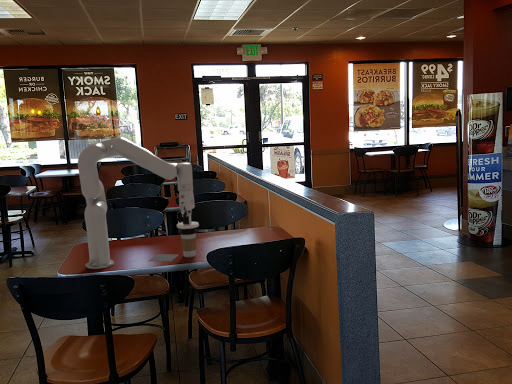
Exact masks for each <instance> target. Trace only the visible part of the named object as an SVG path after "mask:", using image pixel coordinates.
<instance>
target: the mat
mask: <svg viewBox="0 0 512 384" xmlns="http://www.w3.org/2000/svg"><path fill="white" fill-rule="evenodd" d="M178 256H179V254H176V253H175V254H174V253H171V254H169V253H168V254H166V253H157V254H155V255H154V256H153V257H151V258H150V259H148V262H173V261H174V260H175V259H176V258H177V257H178Z"/></svg>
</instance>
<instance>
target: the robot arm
mask: <svg viewBox="0 0 512 384" xmlns="http://www.w3.org/2000/svg"><path fill="white" fill-rule="evenodd" d="M115 156H120V157H122V158H124V159H126V160H127V161H130V162H132V163H133V164H136V165H137V166H139V167H141V168H143V169H146V170H148V171H150V172H152V173H153V174H155V175H157V176H159V177H161V178H163V179H165V180H173V179H175V178H177V179H176V180H177V191H178V192H179V194H178V203H179V205H178V206H179V210H180V213H181V217H182V222H183V224H189V216H188V213H191V222H193V215H192V214H193V212H192V211H193V210H192V209H194V208H195V207H196V205H195V196H194V184H193V183H194V181H193V166H192V163H190V162H179V163H176V162H167V161H165V160H163V159H161V157H158V156H156V155H155V154H153V153H152V152H151V151H149V150H148V149H147V148H144V147H142V146H140V145H138V144H137V143H134V142H132V141H131V140H129V139H127V138H126V137H124V136H117V137H113V138H110V139H105V140H103V141H102V140H101V141H97V142H94V143H90V144H89V145H88V146H86V147H85V148H84V149H82V151H81V152H80V154H79V156H78V159H77V169H78V174H79V180H80V181H79V183H80V189H81V194H82V196H83V197H84V198H85V203H86V207H85V209H84V221H85V227H86V236H87V245H88V246H87V247H88V255H89V257H88V258H89V260H88V262H87V263H85V267H86V268H87V269H91V270H99V269H106V268H109V267H112V266H113V265H115V262H114V260H113V259H111V256H110V245H109V234H108V224H107V212H108V204H107V199H106V193H105V187H104V184H103V183H102V181H101V180H100V177H99V172H98V167H97V164H98V162H99V161H102V160H103V159H104V160H105V159H107V158H110V157H115Z"/></svg>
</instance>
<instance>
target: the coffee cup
mask: <svg viewBox="0 0 512 384" xmlns="http://www.w3.org/2000/svg"><path fill="white" fill-rule="evenodd" d="M179 235H180V241H181V246H182V247H181V248H182V251H183V252H182V253H183V257H185V258H193V257H196V254H197V253H196V250H197V229H196V228H190V229H180V233H179Z"/></svg>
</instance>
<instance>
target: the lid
mask: <svg viewBox="0 0 512 384" xmlns="http://www.w3.org/2000/svg"><path fill="white" fill-rule="evenodd" d="M188 216H189V224H183V221H181V222H179V223H177V224H176V228H177V229H180V230H181V229H190V228H195V229H196V228H198V227H199V226H200V224H199V222H198V221H192V222H191V213H188Z"/></svg>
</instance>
